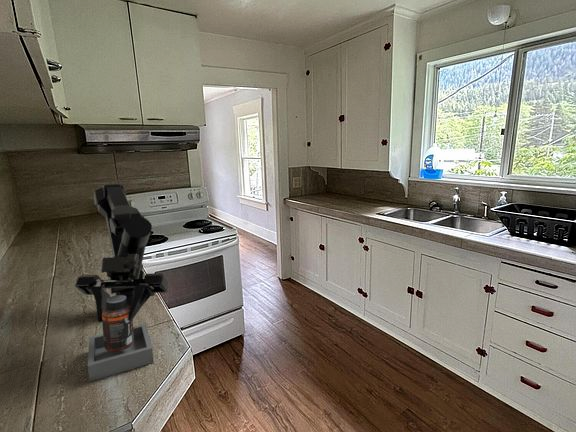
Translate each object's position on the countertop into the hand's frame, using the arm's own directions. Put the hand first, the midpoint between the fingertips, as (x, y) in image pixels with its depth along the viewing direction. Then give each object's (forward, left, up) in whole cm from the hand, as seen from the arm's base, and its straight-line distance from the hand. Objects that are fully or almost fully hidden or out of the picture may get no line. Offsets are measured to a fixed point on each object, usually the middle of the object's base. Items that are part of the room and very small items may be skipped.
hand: (114, 321), depth 68 cm
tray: (-1, +1, -9) cm, 9 cm away
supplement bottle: (-1, 0, -7) cm, 7 cm away
